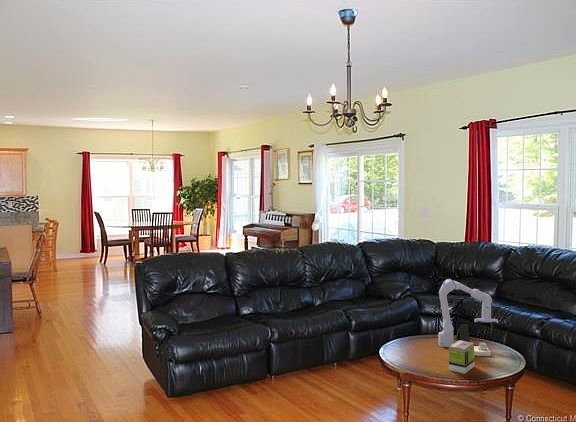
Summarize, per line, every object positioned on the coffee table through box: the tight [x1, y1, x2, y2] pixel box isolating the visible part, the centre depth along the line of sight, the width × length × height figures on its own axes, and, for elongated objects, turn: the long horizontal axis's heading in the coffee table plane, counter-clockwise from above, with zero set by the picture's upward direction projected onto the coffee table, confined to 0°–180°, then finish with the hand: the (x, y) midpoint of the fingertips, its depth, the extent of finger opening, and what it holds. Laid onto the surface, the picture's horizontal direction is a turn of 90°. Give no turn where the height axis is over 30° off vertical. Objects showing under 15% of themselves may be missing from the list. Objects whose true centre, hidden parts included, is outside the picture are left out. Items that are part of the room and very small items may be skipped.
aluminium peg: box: [478, 342, 488, 351], centre depth 343 cm, size 4×4×6 cm
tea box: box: [448, 340, 475, 374], centre depth 315 cm, size 15×10×15 cm
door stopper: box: [455, 323, 471, 342], centre depth 367 cm, size 9×6×12 cm, turn 14°
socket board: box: [474, 345, 492, 357], centre depth 343 cm, size 16×11×3 cm
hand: (485, 333), depth 354 cm, fingers open, 7 cm apart
